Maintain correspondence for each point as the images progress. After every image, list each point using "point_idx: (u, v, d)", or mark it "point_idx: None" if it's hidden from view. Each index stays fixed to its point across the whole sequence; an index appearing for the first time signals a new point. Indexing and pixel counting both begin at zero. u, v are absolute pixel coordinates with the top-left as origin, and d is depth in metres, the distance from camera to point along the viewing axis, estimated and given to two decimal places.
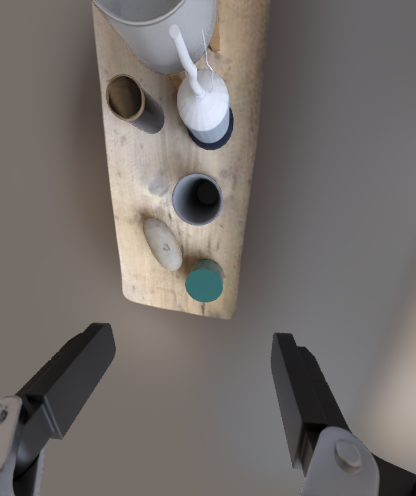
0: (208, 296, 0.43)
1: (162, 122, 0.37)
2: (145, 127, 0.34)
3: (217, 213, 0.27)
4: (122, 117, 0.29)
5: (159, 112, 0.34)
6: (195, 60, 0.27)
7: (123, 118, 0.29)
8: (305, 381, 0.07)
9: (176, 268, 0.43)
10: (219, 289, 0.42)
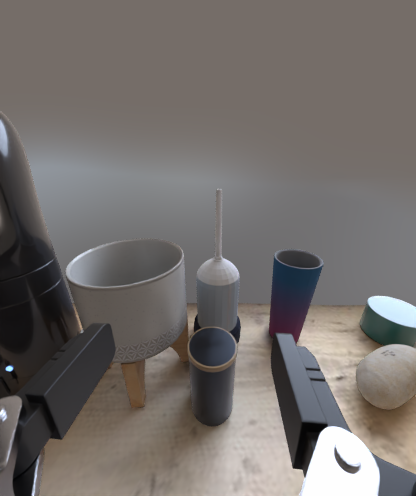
0: (405, 305, 0.35)
1: None
2: None
3: (300, 250, 0.33)
4: (234, 349, 0.21)
5: None
6: None
7: (235, 348, 0.21)
8: (305, 381, 0.07)
9: None
10: (384, 298, 0.37)
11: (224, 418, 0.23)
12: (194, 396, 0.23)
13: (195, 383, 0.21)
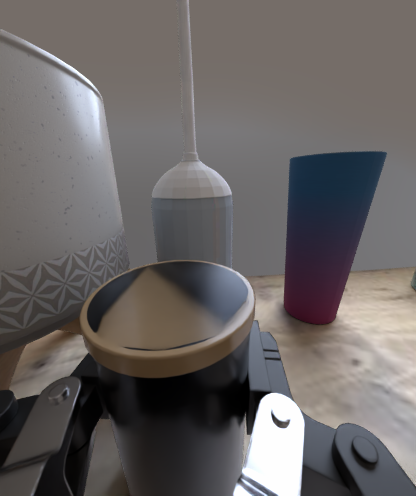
0: None
1: None
2: None
3: None
4: (246, 294, 0.06)
5: None
6: None
7: (249, 291, 0.07)
8: (260, 359, 0.07)
9: None
10: None
11: None
12: (125, 471, 0.07)
13: (116, 432, 0.06)
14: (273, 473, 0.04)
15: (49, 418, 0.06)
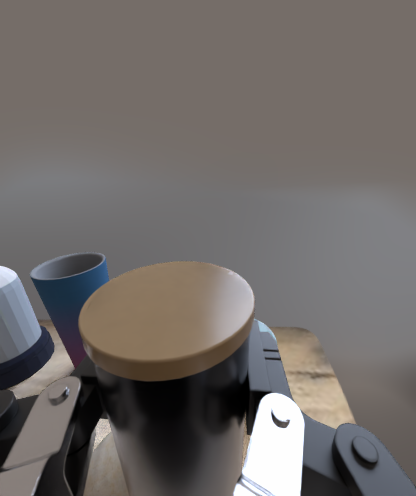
0: None
1: None
2: None
3: (99, 254, 0.24)
4: (246, 295, 0.06)
5: None
6: None
7: (248, 293, 0.07)
8: (260, 359, 0.07)
9: None
10: None
11: None
12: (124, 474, 0.07)
13: (115, 434, 0.06)
14: (273, 473, 0.04)
15: (49, 418, 0.06)
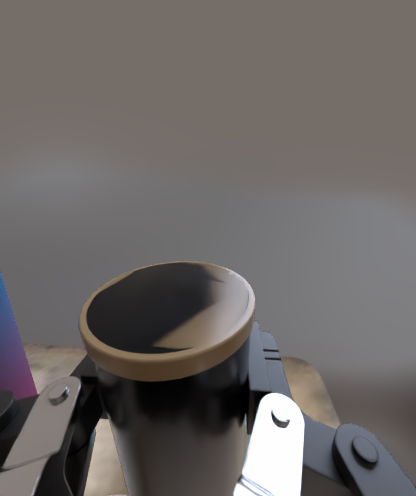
0: None
1: None
2: None
3: None
4: (246, 295, 0.06)
5: None
6: None
7: (249, 293, 0.07)
8: (260, 359, 0.07)
9: None
10: None
11: None
12: (124, 474, 0.07)
13: (115, 434, 0.06)
14: (273, 473, 0.04)
15: (49, 418, 0.06)
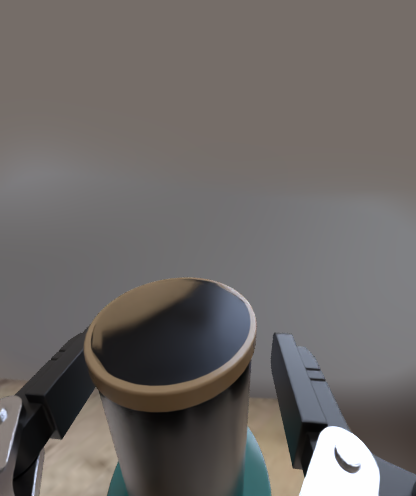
0: None
1: None
2: None
3: None
4: (248, 318, 0.06)
5: None
6: None
7: (250, 315, 0.07)
8: (305, 381, 0.07)
9: None
10: None
11: None
12: (128, 492, 0.07)
13: (120, 456, 0.06)
14: None
15: None
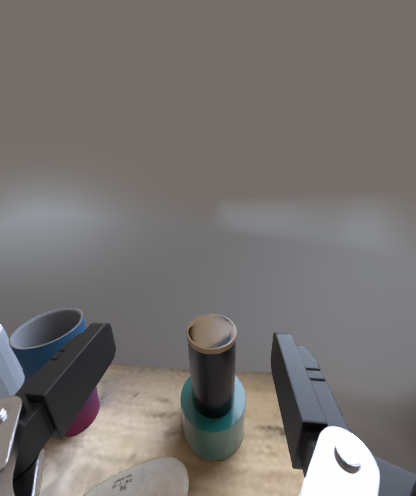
0: None
1: None
2: None
3: (78, 311, 0.26)
4: (234, 331, 0.21)
5: None
6: None
7: (235, 330, 0.21)
8: (305, 381, 0.07)
9: (180, 466, 0.20)
10: None
11: (228, 409, 0.23)
12: (196, 387, 0.22)
13: (197, 371, 0.21)
14: None
15: None
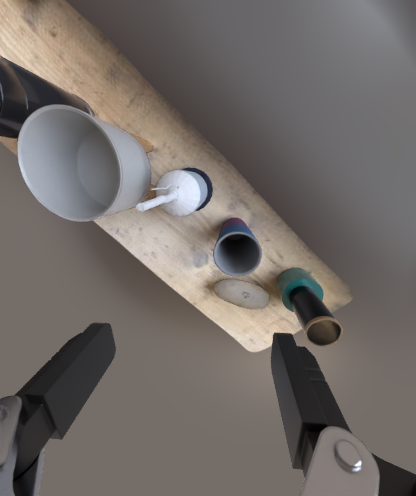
0: None
1: None
2: None
3: (259, 248, 0.28)
4: (333, 342, 0.32)
5: (315, 295, 0.37)
6: (150, 174, 0.32)
7: (334, 342, 0.31)
8: (305, 381, 0.07)
9: (267, 301, 0.43)
10: (317, 288, 0.40)
11: None
12: (294, 309, 0.37)
13: (299, 319, 0.35)
14: None
15: None
